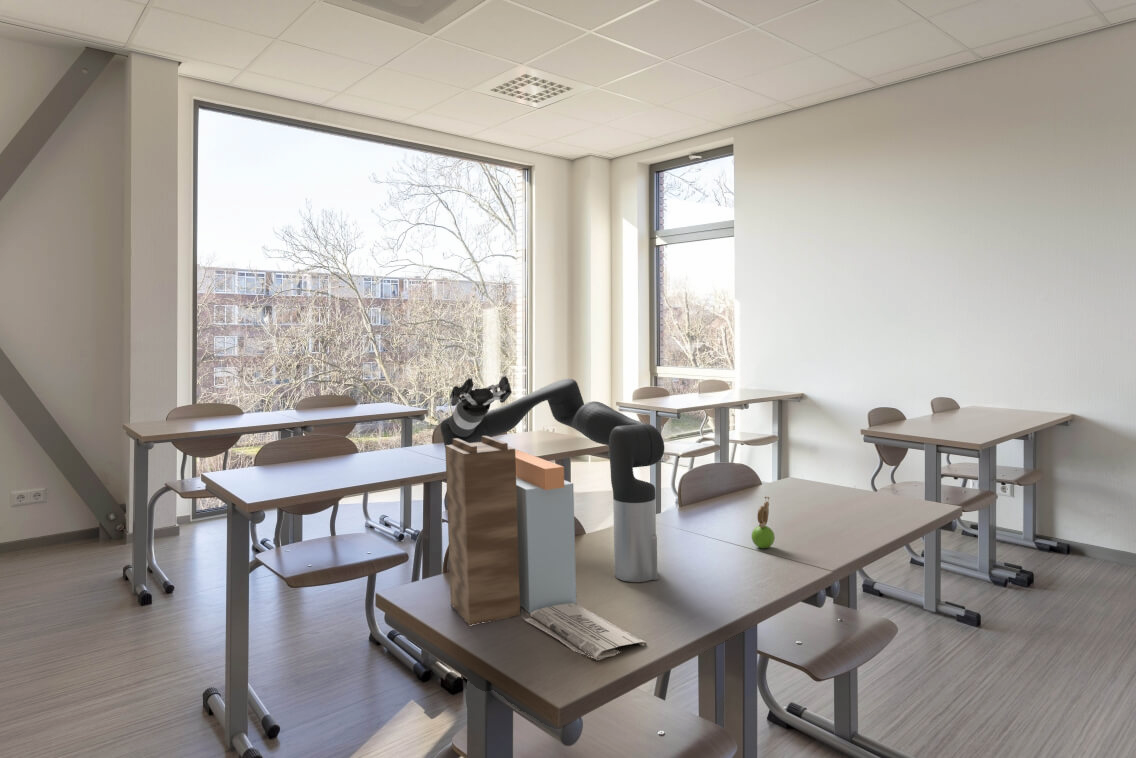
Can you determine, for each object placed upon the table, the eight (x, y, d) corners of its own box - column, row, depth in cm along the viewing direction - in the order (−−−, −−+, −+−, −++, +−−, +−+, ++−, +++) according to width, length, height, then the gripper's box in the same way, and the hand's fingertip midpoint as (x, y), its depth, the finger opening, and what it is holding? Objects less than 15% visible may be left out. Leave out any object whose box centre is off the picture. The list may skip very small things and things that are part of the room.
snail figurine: (778, 545, 170) (778, 497, 169) (771, 552, 165) (770, 503, 164) (756, 542, 173) (756, 495, 172) (748, 549, 168) (748, 500, 167)
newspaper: (521, 623, 129) (522, 610, 129) (576, 614, 135) (576, 602, 135) (590, 670, 110) (591, 654, 110) (649, 657, 116) (650, 642, 116)
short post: (507, 592, 143) (503, 478, 141) (550, 584, 147) (547, 473, 146) (529, 613, 132) (526, 489, 130) (576, 603, 136) (573, 483, 135)
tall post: (450, 604, 137) (445, 439, 135) (497, 594, 142) (492, 434, 140) (469, 626, 127) (463, 447, 125) (520, 615, 131) (515, 442, 129)
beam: (500, 469, 151) (499, 451, 151) (517, 467, 153) (516, 449, 153) (545, 489, 130) (544, 469, 130) (564, 487, 132) (563, 466, 131)
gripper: (441, 398, 173) (456, 367, 160) (494, 394, 179) (513, 365, 166) (446, 425, 170) (462, 396, 157) (500, 421, 176) (520, 393, 163)
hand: (488, 380), depth 161 cm, fingers open, 8 cm apart
